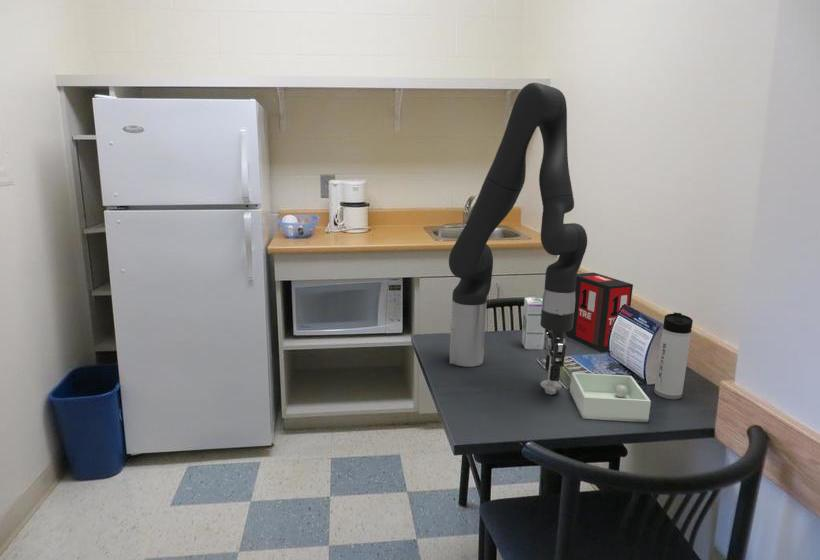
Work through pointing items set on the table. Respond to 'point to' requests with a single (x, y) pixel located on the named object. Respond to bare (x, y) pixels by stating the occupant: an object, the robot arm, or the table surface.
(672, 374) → the travel mug
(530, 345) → the syrup box
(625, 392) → the pebble
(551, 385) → the screw
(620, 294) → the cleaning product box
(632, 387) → the tub
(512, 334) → the table surface
